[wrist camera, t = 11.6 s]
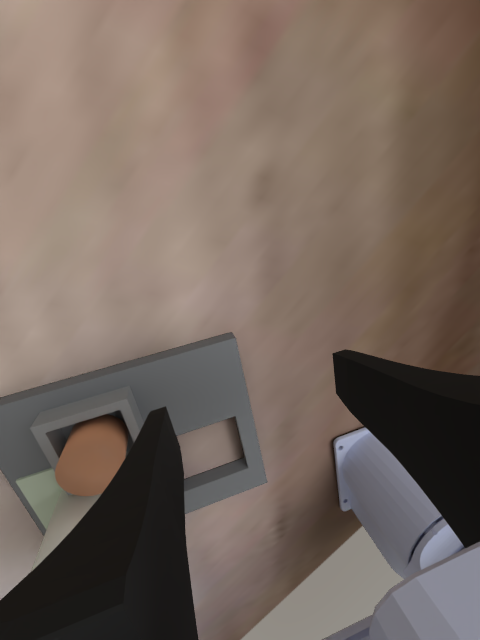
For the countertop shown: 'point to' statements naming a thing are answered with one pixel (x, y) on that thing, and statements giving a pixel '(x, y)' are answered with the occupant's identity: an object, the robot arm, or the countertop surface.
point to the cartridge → (63, 521)
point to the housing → (132, 419)
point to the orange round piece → (92, 455)
